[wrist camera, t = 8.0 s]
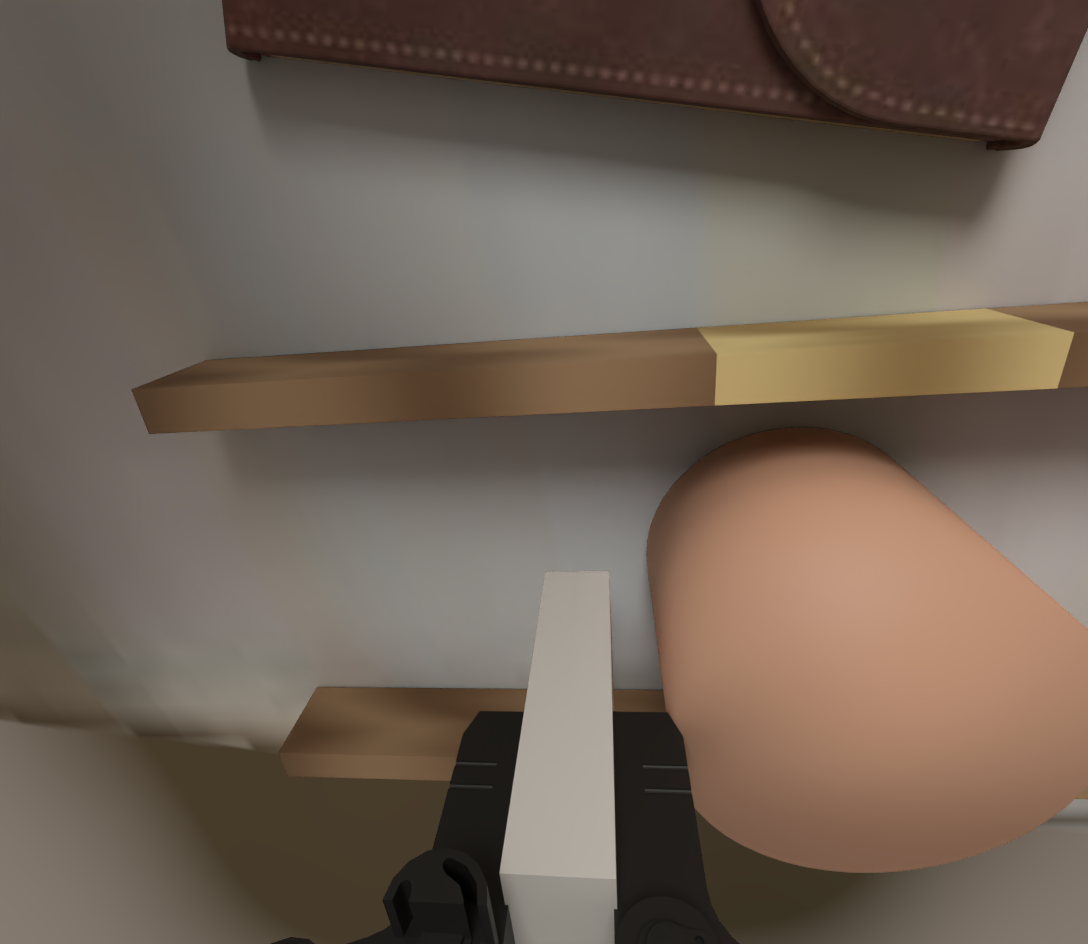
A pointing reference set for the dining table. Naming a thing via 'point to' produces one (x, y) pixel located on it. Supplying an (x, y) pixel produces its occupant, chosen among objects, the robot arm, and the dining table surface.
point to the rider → (857, 661)
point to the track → (588, 386)
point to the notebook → (715, 53)
